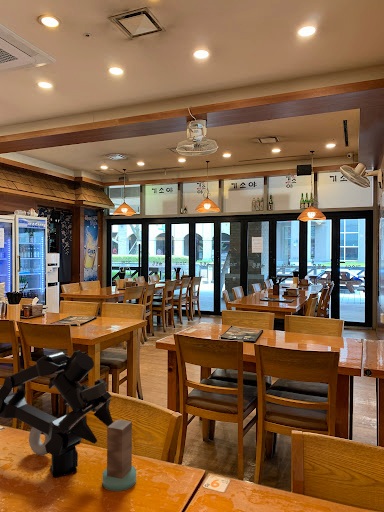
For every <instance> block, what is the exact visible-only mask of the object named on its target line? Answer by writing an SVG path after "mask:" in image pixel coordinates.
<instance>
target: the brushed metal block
mask: <svg viewBox="0 0 384 512" xmlns="http://www.w3.org/2000/svg"><path fill="white" fill-rule="evenodd" d="M132 443H133V421H130V420H124V419H116V420H114V421H113V423H112V424H111V425H109V426H106V468H107V476H110V477H115V478H120V479H123V477H124V476H125V475H126V474H127V473H128V472H129V471H130V470H131V469H132V466H133V465H132V463H133V461H132V460H133V455H132V454H133V451H132V448H133V444H132Z"/></svg>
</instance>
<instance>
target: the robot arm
mask: <svg viewBox="0 0 384 512" xmlns="http://www.w3.org/2000/svg"><path fill="white" fill-rule="evenodd" d="M94 367H95V362H94V359H93V358H92V357H91V356H89V354H86V353H84V352H82V351H81V350H80V349H79V350H76V351H74V352H73V353H72V354H71V356H69V355H66V354H65V353H64V352H63V351H58V352H53V353H50V354H46V355H43V356H41V357H40V358H39V359H38V360H36V361H35V364H33V365H31V366H29V367H27V368H25V369H22V370H20V371H17V372H15V373H13V374H10V375H7V376H6V377H5V378H4V381H3V384H2V386H1V387H0V418H2V419H5V420H7V419H16V420H18V421H20V422H22V423H24V424H26V425H28V426H30V427H31V428H32V427H34V428H36V429H38V430H39V431H41V432H42V433H43V434H44V433H45V434H47V435H48V436H49V439H50V441H49V442H48V443H47V444H46V445H45V448H46V452H47V453H48V454H49V455H51V457H50V458H51V459H50V460H51V462H50V463H51V464H50V466H49V469H50V471H51V474H52V478H59V477H63V476H66V475H71V474H75V473H78V469H77V467H78V463H79V462H78V460H79V458H78V456H79V453H78V450H77V448H76V446H78V445H80V444H81V442H82V439H83V440H85V441H87V442H90V443H92V444H93V445H95V444H97V442H98V439H97V437H96V435H95V434H94V432H93V431H92V429H91V427H90V426H89V425H88V422H87V414H89V413H90V412H94V413H93V416H94V417H96V418H97V419H98V420H99V421H101V422H102V423H103V424H104V425H105V426H106V427H108V426H109V425H111V424H112V423H113V422H114V421H113V417H112V415H111V410H110V403H111V401H112V400H111V398H112V397H113V396H112V395H111V394H110V392H109V391H108V390H107V388H108V383H107V381H105V380H104V379H103V378H99V379H96V380H95V381H94V385H91V386H90V387H89V386H88V385H87V384H81V383H80V382H81V381H82V380H83V379H84V378H85V376H87V375H88V374H89V373H90V372H91V370H92V369H93V368H94ZM54 374H56V375H55V376H52V377H51V378H49V382H48V389H50V390H51V389H52V388H54V387H55V389H56V390H57V392H58V393H59V394H60V395H61V397H62V398H63V401H62V404H63V405H64V406H65V405H68V407H69V408H70V410H71V411H70V412H68V413H67V414H65V415H63V416H61V417H59V418H57V417H56V416H54V415H51V414H50V413H48V412H45V411H44V410H41V409H39V408H38V407H37V408H36V407H35V406H33V405H31V404H29V403H27V399H26V394H27V392H26V389H25V384H26V383H28V382H31V381H34V380H35V379H37V378H41V377H48V376H51V375H54ZM13 388H17V389H16V391H14V392H12V389H13Z"/></svg>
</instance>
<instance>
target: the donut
mask: <svg viewBox="0 0 384 512" xmlns="http://www.w3.org/2000/svg"><path fill="white" fill-rule="evenodd" d="M42 433H43V432H41V431H39V430H38V429H36V428H34V427H32V426H31V429H30V432H29V436H28V444H29V446H30V450H31V451H32V452H33V453H34V454H36V455H37V456H46V455H48V454H49V453H47V452H46V448H45V445H46V444H47V443H48V442H49V441H50V439H49V436H48V435H47V434H45V433H43V435H44V442H43V441H42V440H41V435H42Z"/></svg>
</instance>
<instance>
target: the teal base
mask: <svg viewBox="0 0 384 512" xmlns="http://www.w3.org/2000/svg"><path fill="white" fill-rule="evenodd" d="M136 482H137V468H136V467H135V466H134V465H132V469H131V470H130V471H129V472H128V473H127V474H126V475H125V476H124V477H123V479H120V478H115V477H110V476H107V467H106V468H105V469H104V470H103V472H102V486H103V488H105V490H108V491H112V492H122V491H123V492H124V491H126V490H128V489H131V488H132V487H134V486H135V484H136Z"/></svg>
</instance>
